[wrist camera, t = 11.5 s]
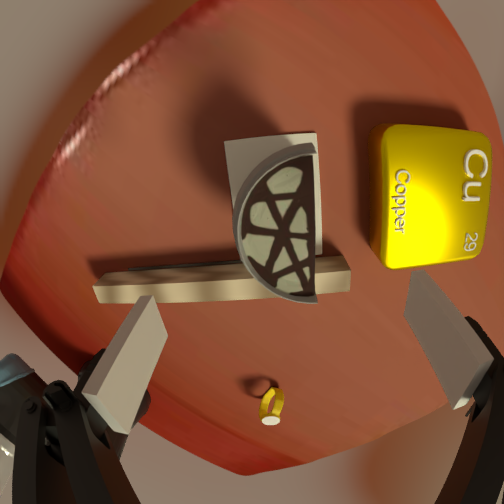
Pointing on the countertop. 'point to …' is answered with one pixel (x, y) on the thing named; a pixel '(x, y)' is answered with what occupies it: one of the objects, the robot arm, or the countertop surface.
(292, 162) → the food container
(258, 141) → the plate
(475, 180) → the element tile
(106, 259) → the countertop surface
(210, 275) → the maple straightedge
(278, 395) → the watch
